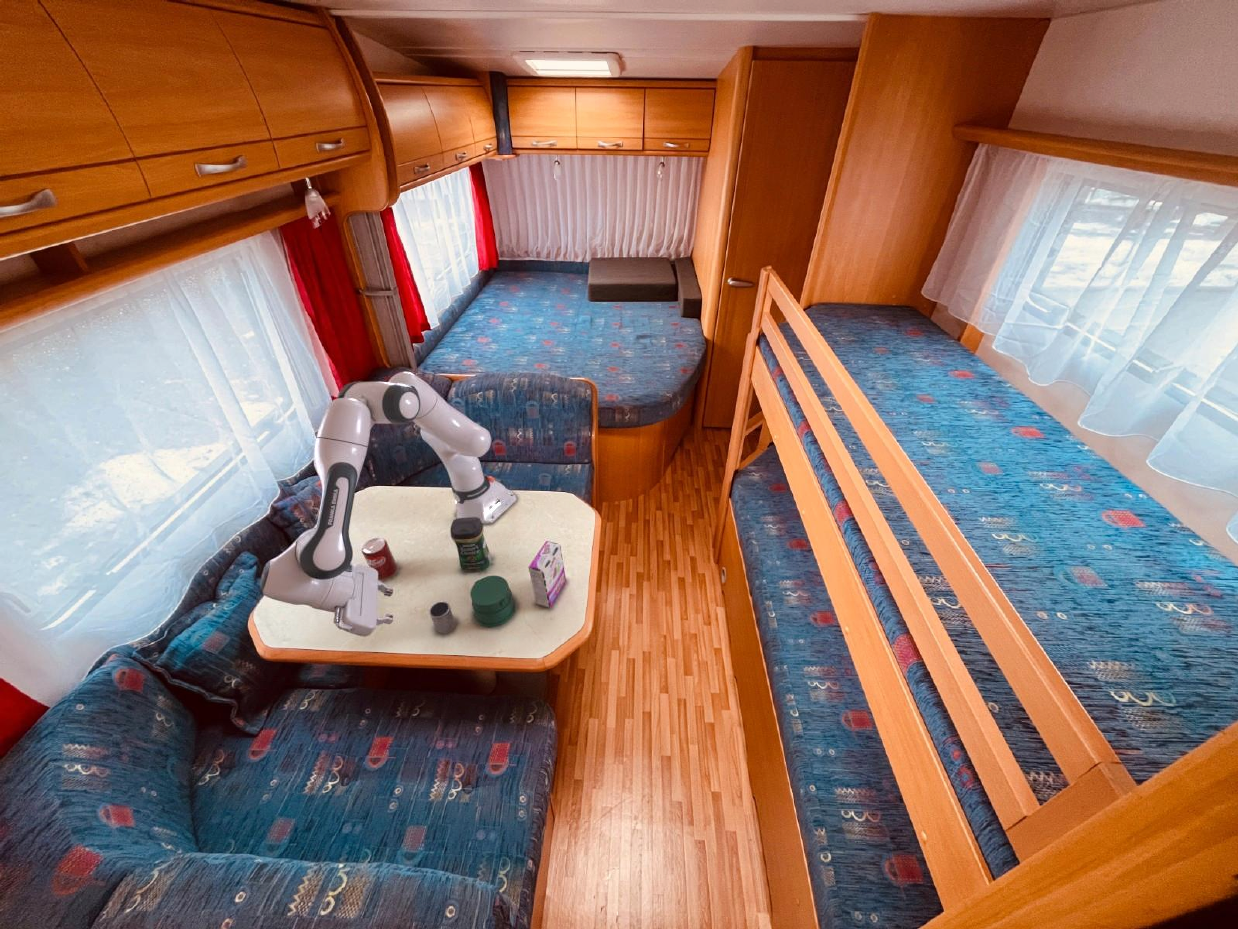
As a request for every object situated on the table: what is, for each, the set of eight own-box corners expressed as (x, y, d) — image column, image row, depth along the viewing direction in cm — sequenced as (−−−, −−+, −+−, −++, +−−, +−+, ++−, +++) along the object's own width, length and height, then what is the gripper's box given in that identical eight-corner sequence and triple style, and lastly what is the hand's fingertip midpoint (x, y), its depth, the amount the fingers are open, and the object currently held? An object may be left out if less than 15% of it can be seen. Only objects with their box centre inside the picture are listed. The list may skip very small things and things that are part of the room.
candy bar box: (552, 576, 148) (546, 539, 138) (566, 581, 147) (561, 543, 137) (535, 604, 140) (527, 566, 130) (550, 609, 138) (543, 571, 128)
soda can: (389, 582, 148) (376, 555, 141) (369, 579, 149) (355, 552, 142) (402, 565, 154) (391, 538, 147) (382, 562, 155) (370, 535, 148)
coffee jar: (459, 574, 150) (445, 532, 139) (464, 556, 156) (451, 514, 145) (490, 572, 150) (478, 530, 139) (493, 554, 157) (482, 512, 146)
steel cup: (448, 614, 138) (442, 598, 133) (459, 624, 135) (453, 607, 130) (432, 627, 134) (425, 610, 130) (443, 637, 131) (436, 620, 127)
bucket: (497, 587, 145) (492, 567, 140) (524, 606, 139) (519, 586, 134) (465, 613, 138) (458, 593, 133) (492, 635, 132) (486, 615, 126)
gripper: (339, 617, 106) (398, 629, 115) (346, 556, 122) (398, 570, 130) (325, 636, 107) (385, 646, 116) (334, 573, 123) (386, 586, 132)
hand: (392, 606), depth 123 cm, fingers open, 8 cm apart
